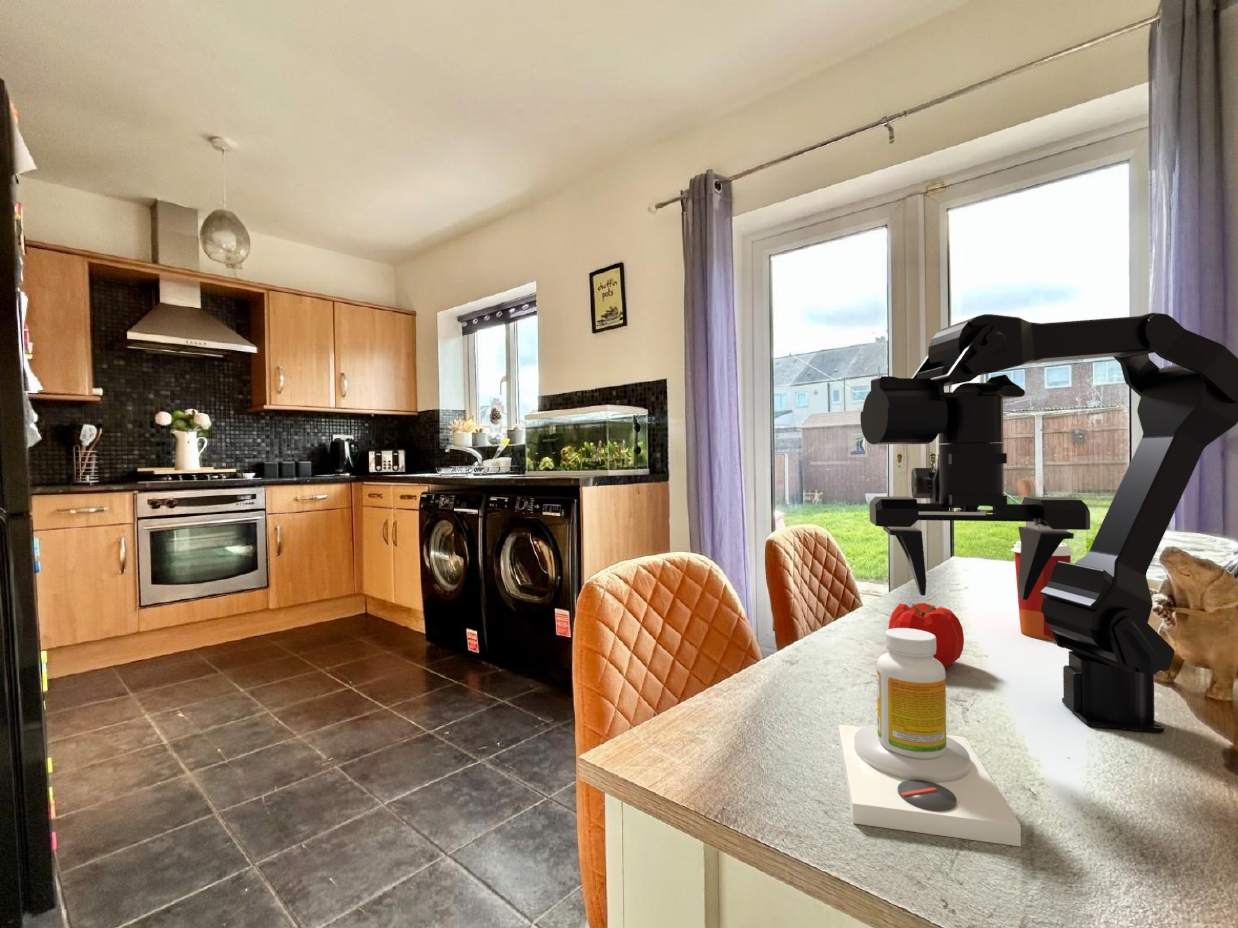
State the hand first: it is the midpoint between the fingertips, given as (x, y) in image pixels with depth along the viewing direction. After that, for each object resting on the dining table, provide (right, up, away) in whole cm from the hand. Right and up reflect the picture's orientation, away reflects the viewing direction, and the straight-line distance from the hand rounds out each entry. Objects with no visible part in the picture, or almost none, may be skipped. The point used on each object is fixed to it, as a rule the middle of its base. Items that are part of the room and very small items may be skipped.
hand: (971, 596), depth 62 cm
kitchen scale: (-11, -13, -11) cm, 21 cm away
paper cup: (+28, -13, +31) cm, 44 cm away
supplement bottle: (-11, -11, -9) cm, 18 cm away
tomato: (+4, -13, +19) cm, 23 cm away
